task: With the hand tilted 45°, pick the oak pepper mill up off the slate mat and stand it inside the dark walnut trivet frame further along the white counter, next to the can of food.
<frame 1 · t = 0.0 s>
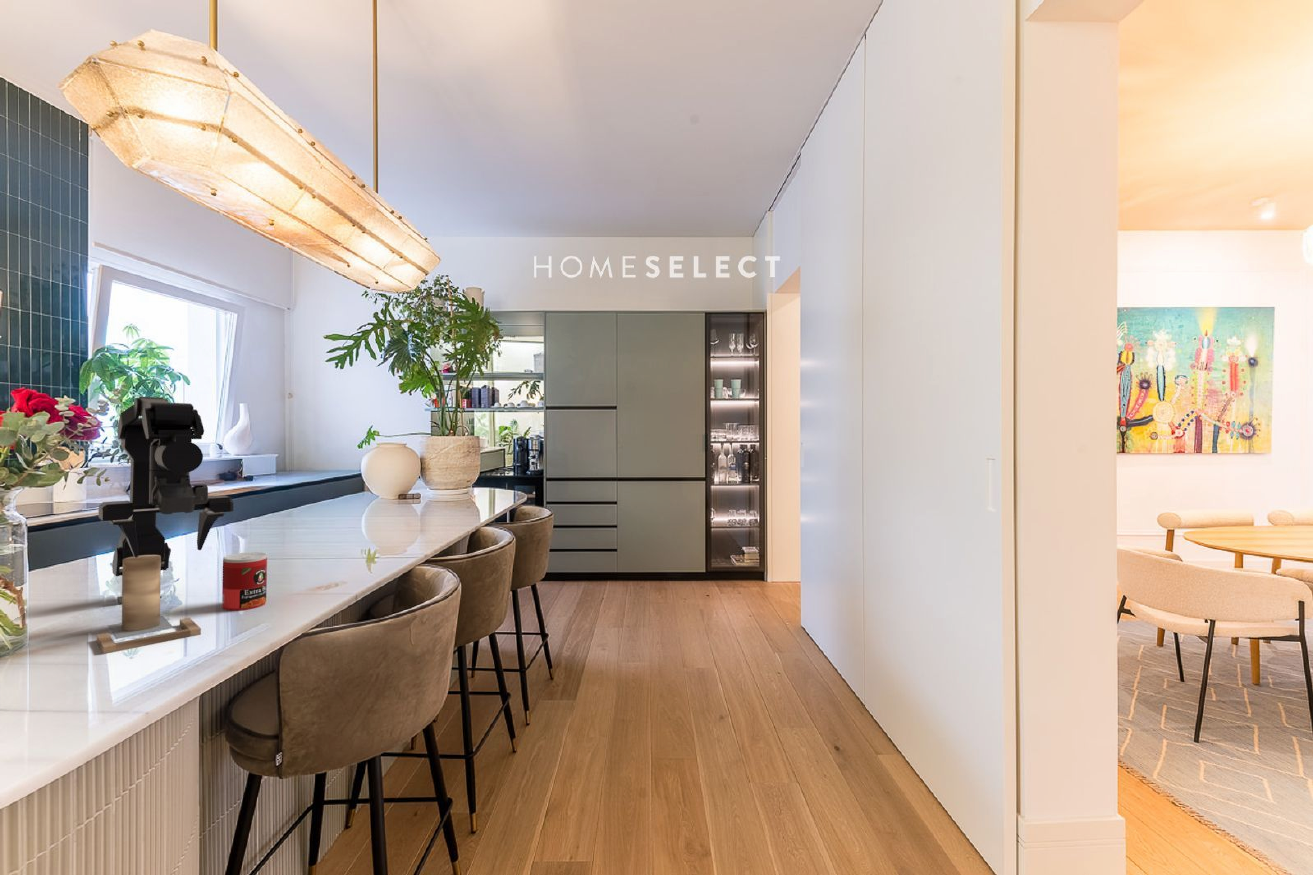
hand: (168, 553, 109), 15 cm above the counter, tool pointing down, fingers open, 9 cm apart
pepper mill: (141, 626, 110), resting on slate mat
slate mat: (141, 628, 110), on the counter
canned food: (244, 608, 124), on the counter
walnut frame: (149, 639, 105), on the counter
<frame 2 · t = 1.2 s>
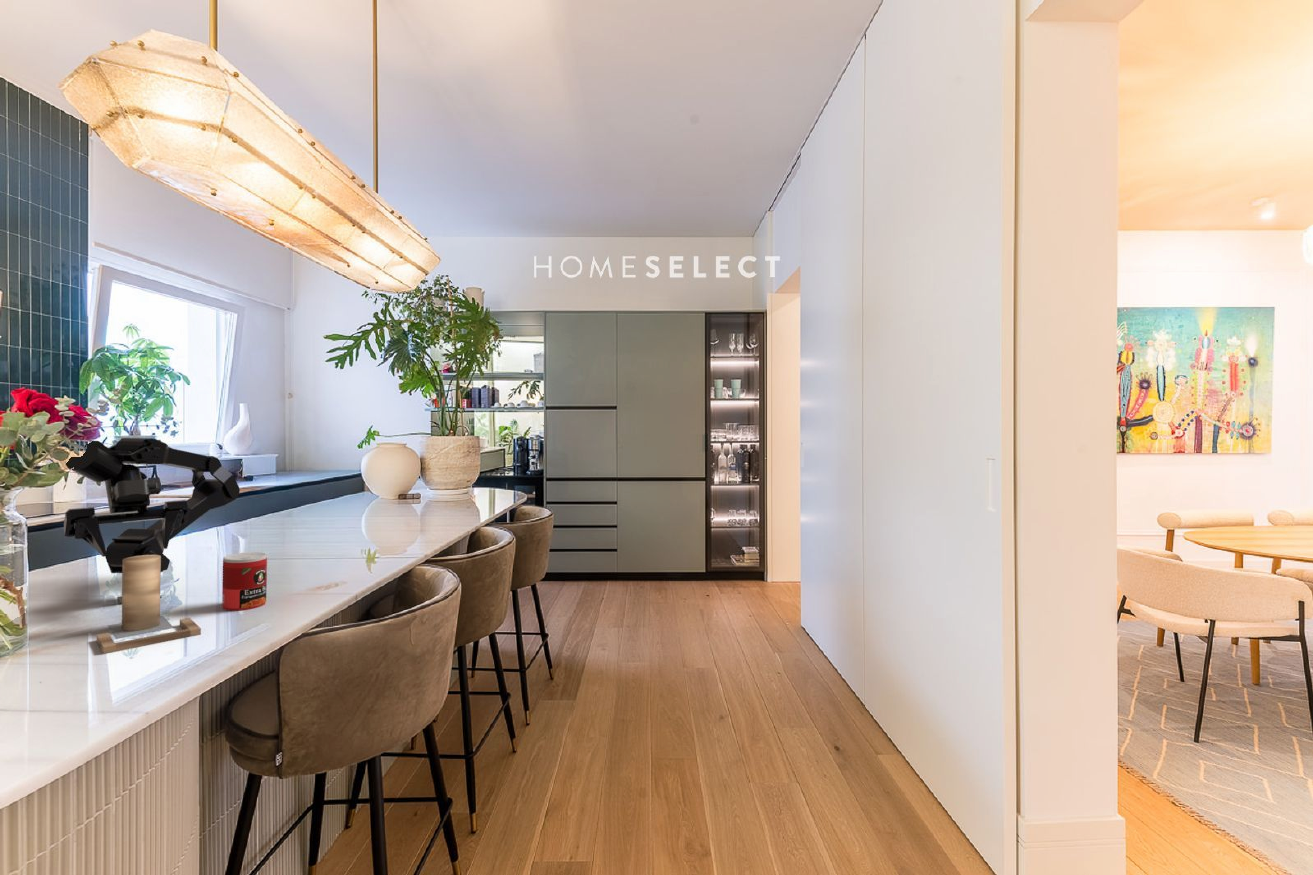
hand: (136, 551, 115), 13 cm above the counter, tool tilted 45°, fingers open, 9 cm apart
nothing on the counter moved.
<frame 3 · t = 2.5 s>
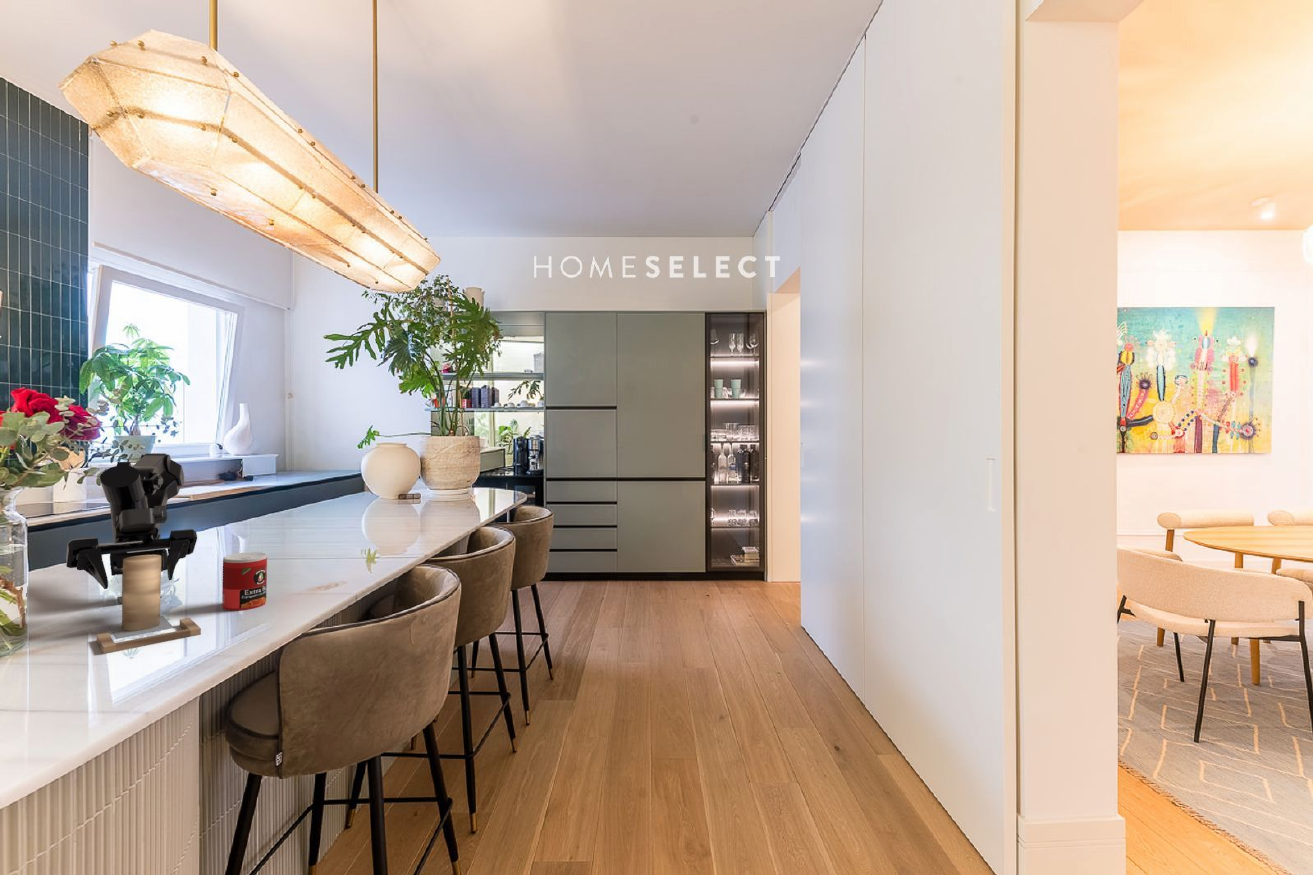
hand: (139, 583, 110), 8 cm above the counter, tool tilted 45°, fingers open, 9 cm apart
nothing on the counter moved.
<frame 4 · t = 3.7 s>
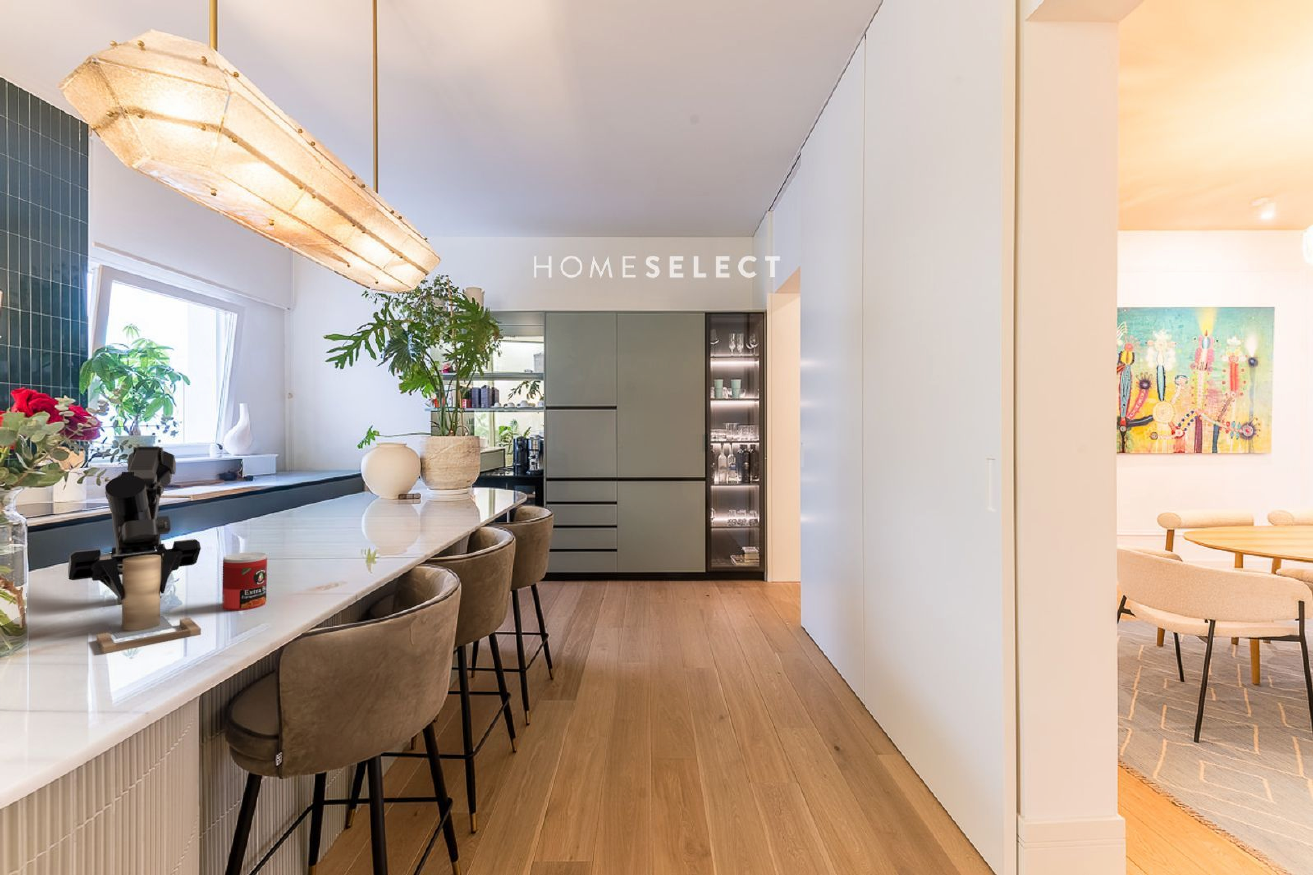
hand: (143, 595, 109), 7 cm above the counter, tool tilted 45°, fingers closed on pepper mill, 5 cm apart
pepper mill: (141, 626, 110), resting on slate mat, touching gripper
everything else where it was.
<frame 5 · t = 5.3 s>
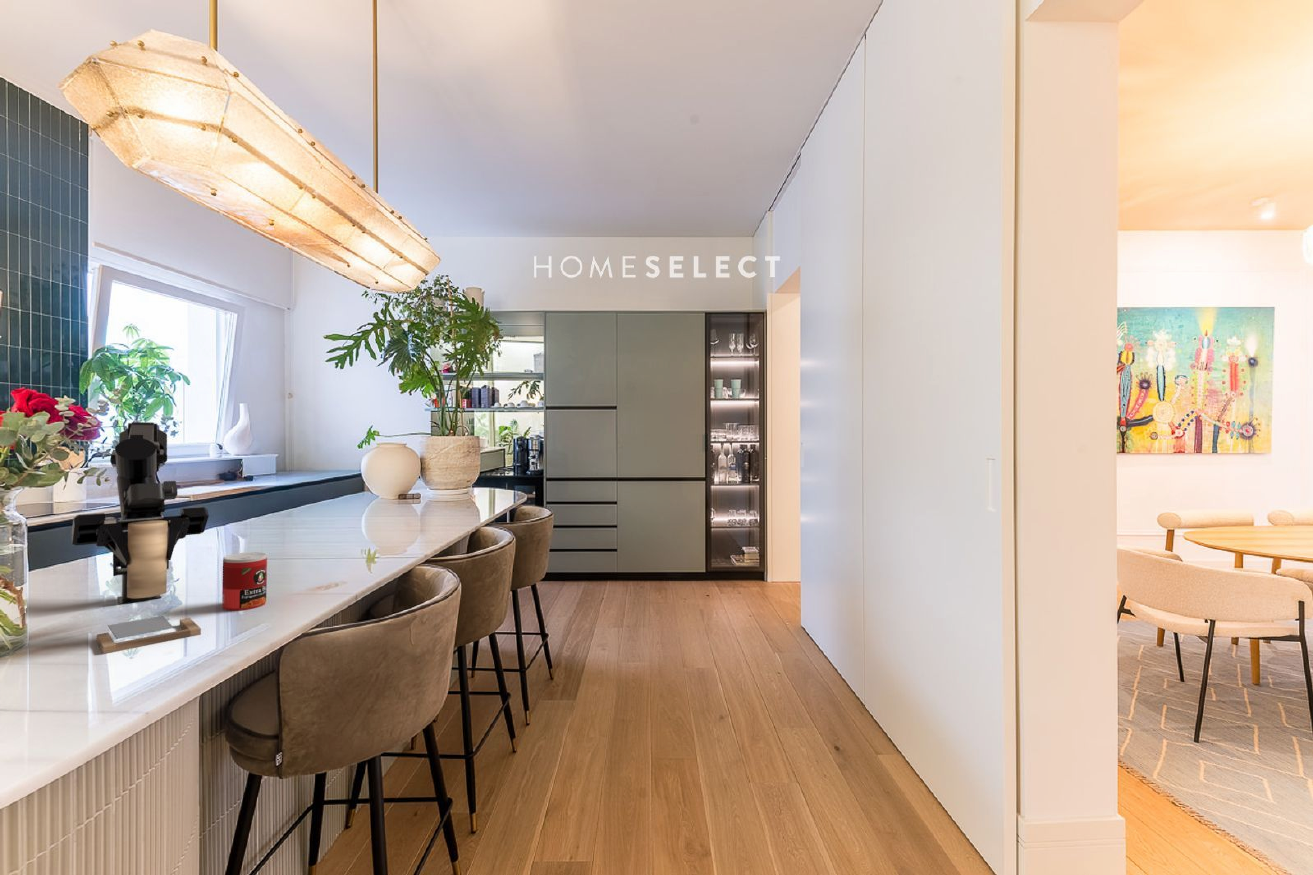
hand: (149, 561, 105), 14 cm above the counter, tool tilted 45°, fingers closed on pepper mill, 5 cm apart
pepper mill: (147, 594, 106), point 8 cm above the counter, touching gripper
everything else where it was.
when the fingers open (8 cm above the counter, at t = 6.9 s): pepper mill drops 2 cm, on the counter.
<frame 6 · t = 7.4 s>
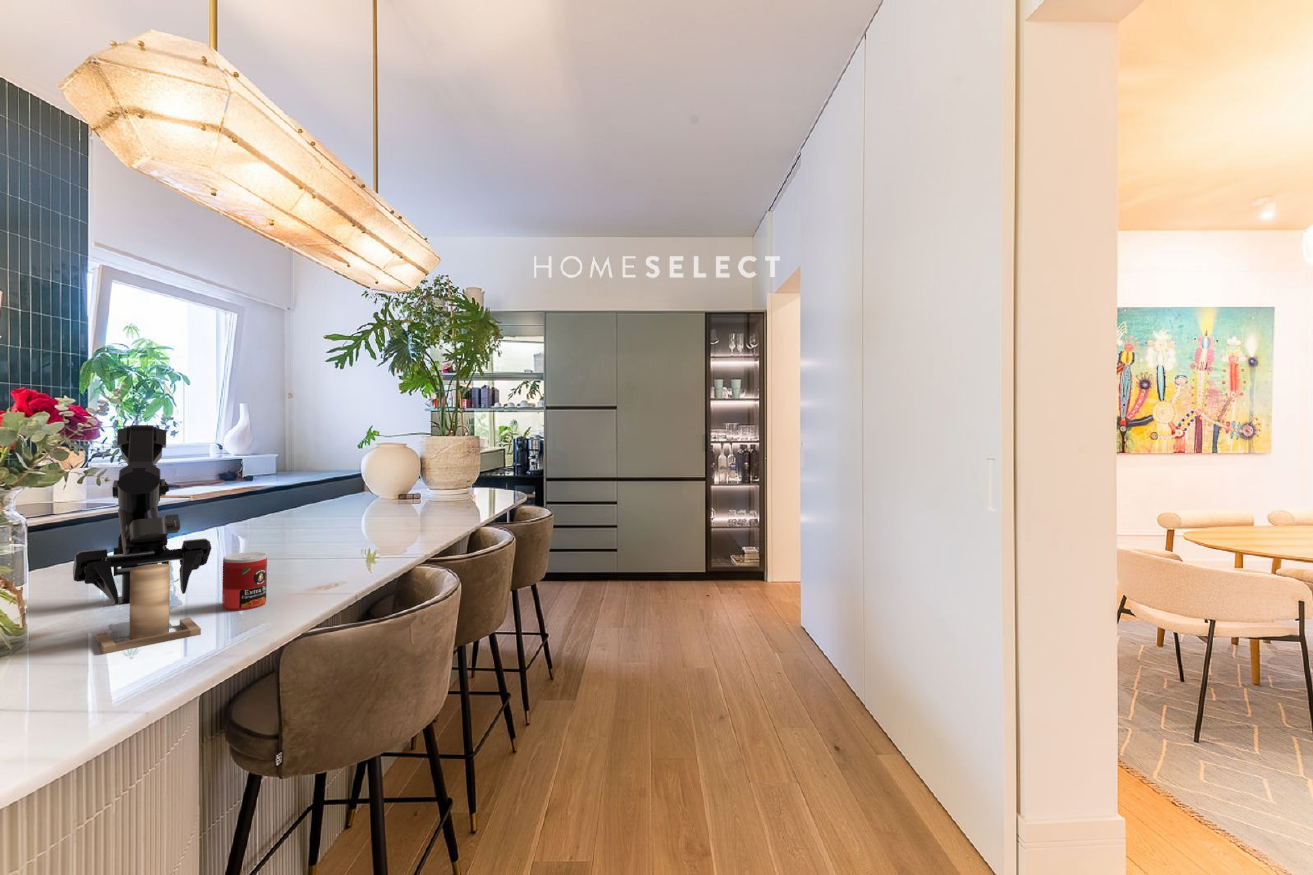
hand: (151, 597, 104), 8 cm above the counter, tool tilted 45°, fingers open, 9 cm apart
pepper mill: (149, 639, 105), on the counter
everything else where it was.
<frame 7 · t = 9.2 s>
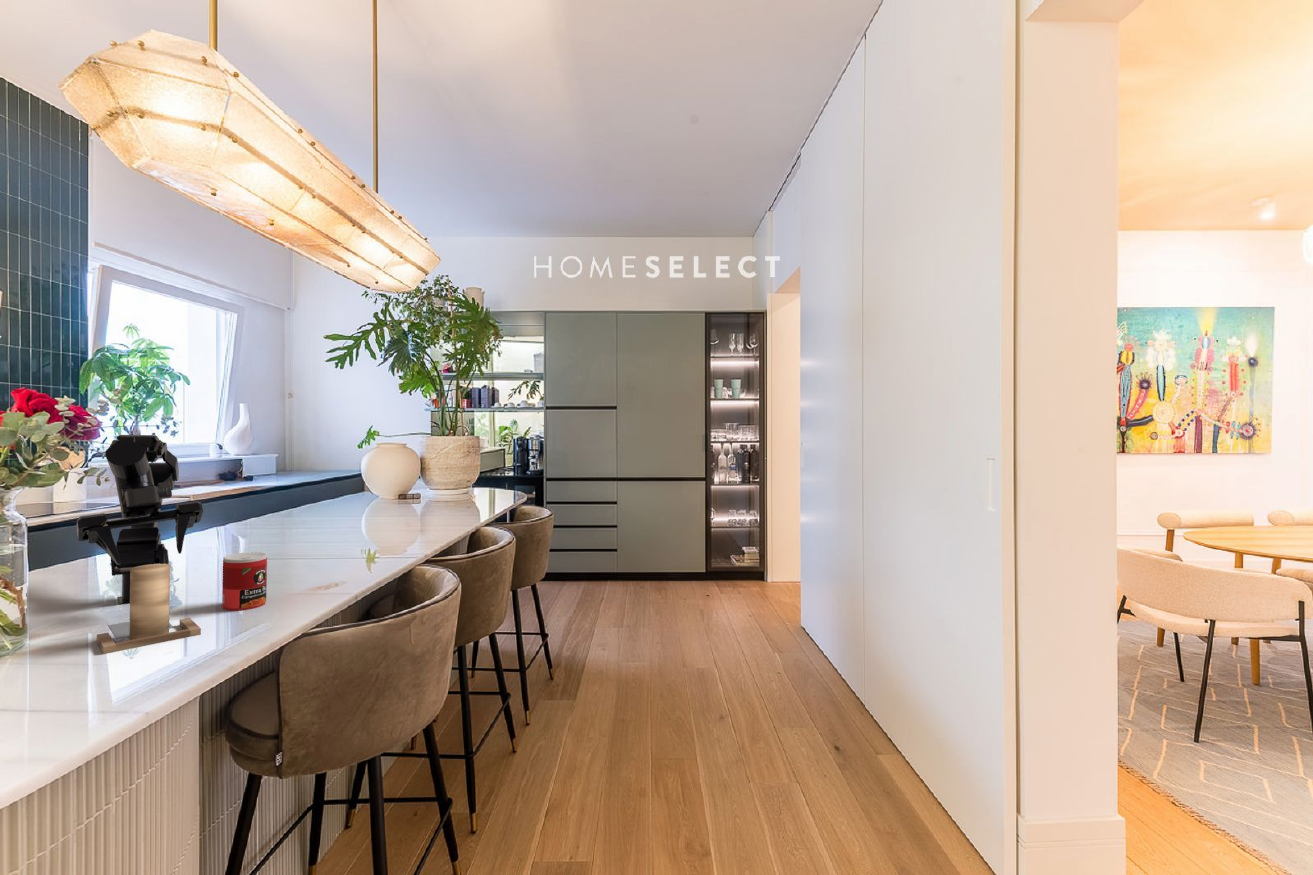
hand: (150, 558, 114), 12 cm above the counter, tool tilted 35°, fingers open, 9 cm apart
nothing on the counter moved.
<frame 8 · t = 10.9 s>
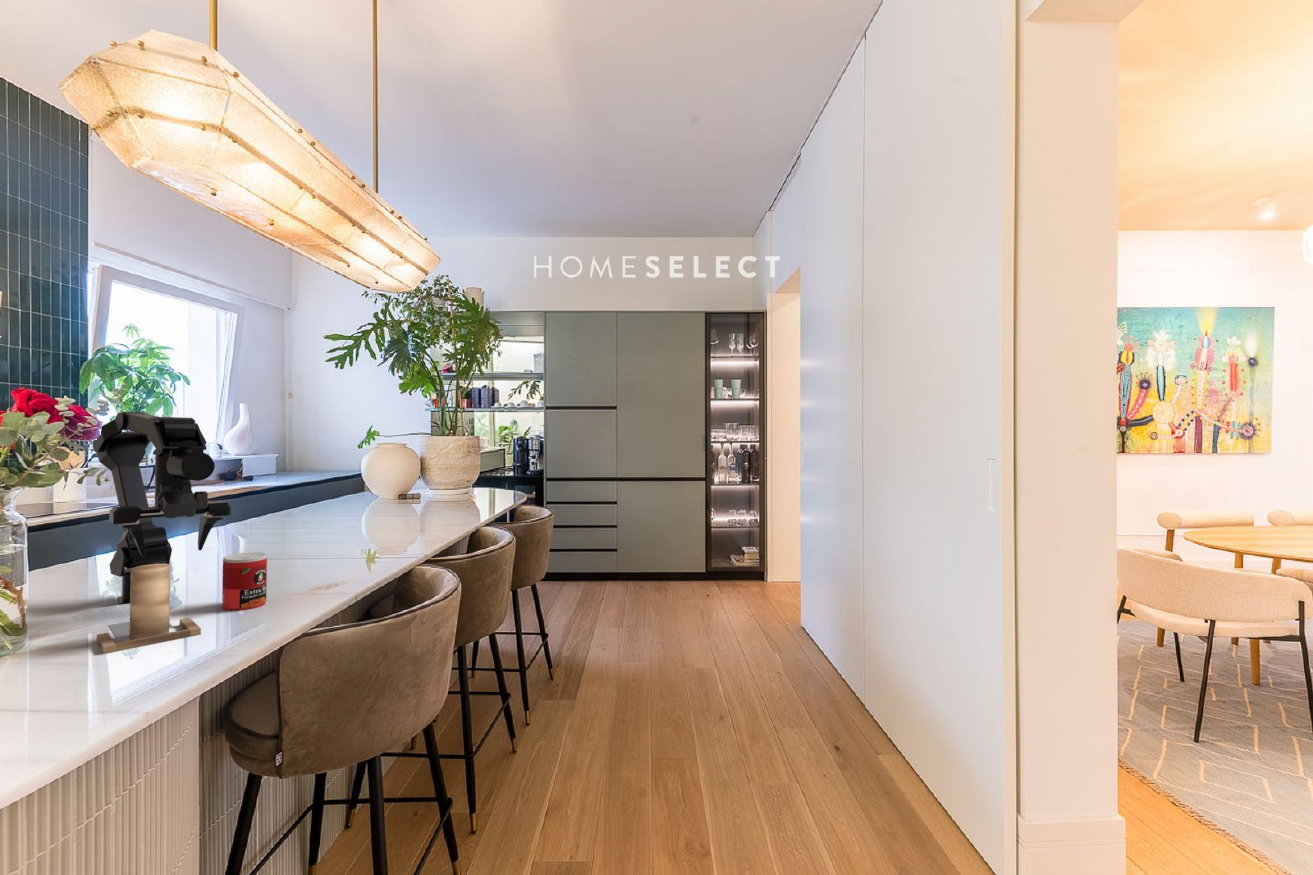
hand: (172, 553, 120), 12 cm above the counter, tool pointing down, fingers open, 9 cm apart
nothing on the counter moved.
at the end: pepper mill inside the target area (0.2 cm from its centre), on the counter; pepper mill tilted 0°; the gripper is holding nothing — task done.
